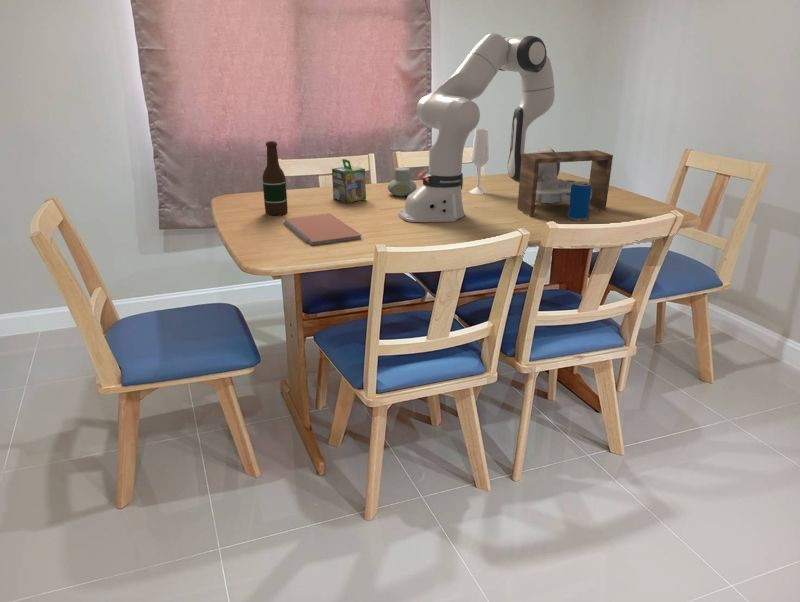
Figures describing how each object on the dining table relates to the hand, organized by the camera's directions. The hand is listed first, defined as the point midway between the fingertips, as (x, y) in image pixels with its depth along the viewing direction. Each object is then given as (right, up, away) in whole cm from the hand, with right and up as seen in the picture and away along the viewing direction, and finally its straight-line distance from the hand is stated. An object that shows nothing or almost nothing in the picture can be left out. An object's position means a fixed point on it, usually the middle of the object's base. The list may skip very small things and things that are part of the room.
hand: (574, 200), depth 212 cm
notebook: (-84, -13, -15) cm, 86 cm away
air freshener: (-58, +6, +29) cm, 65 cm away
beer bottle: (-101, -4, +3) cm, 101 cm away
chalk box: (-78, +4, +22) cm, 81 cm away
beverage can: (+1, -7, -1) cm, 7 cm away
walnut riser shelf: (-2, -2, +9) cm, 9 cm away
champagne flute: (-28, +8, +34) cm, 45 cm away
